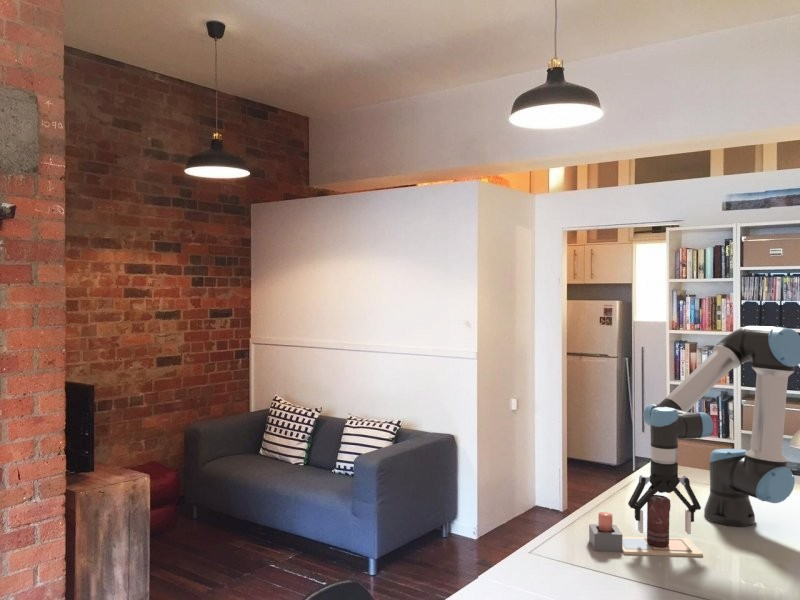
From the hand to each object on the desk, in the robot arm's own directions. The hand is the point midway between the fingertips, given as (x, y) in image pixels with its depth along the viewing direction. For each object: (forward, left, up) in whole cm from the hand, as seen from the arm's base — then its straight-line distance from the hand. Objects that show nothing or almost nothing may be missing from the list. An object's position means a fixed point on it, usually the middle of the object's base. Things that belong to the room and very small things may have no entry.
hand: (664, 532), depth 197 cm
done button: (+17, 0, 0) cm, 17 cm away
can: (+2, 0, -4) cm, 4 cm away
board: (+2, 0, -5) cm, 5 cm away
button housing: (+17, 0, -5) cm, 18 cm away
